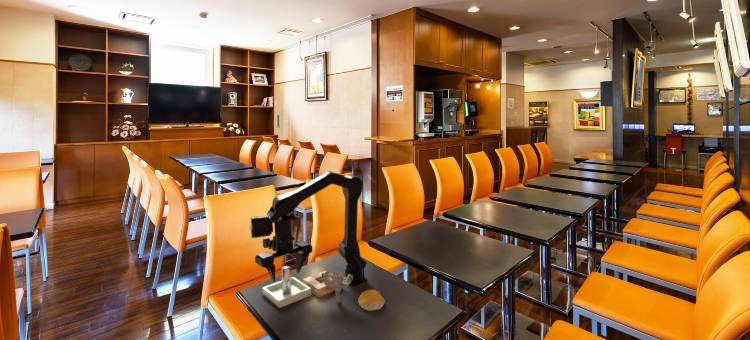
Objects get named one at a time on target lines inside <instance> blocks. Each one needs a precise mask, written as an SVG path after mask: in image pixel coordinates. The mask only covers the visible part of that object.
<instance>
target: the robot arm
mask: <svg viewBox="0 0 750 340" xmlns="http://www.w3.org/2000/svg"><path fill="white" fill-rule="evenodd" d="M363 183H364V182H363V180H362V179H361V178H360V177H359V176H356V175H354V174H351V173H350V174H346V175H345V174H341V173H337V172H333V171H331V170H326V171H325V172H324V173H322V174H321V175H320V176H318V177H316V178H314V179H312V180H311V181H309V182H307V183H305V184H304V185H302V186H300V187H299V188H297V189H295V190H292V191H287V192H285V193H282V194H279V195H277V196H275V197H274V198H273V199H272V203H271V204H272V205H271V207H270V208H269V210H268V211H267V212H266V215H261V216H250V225H249V227H250V236H251V239H256V238H257V239H258V238H262V237H267V238H263V239H262V246H263V247H262V248H264V249H268V250H272V251H273V252H274V253H269V252H268V251H263V252H261V253H257V254H256V255H255V257H254V263H255V264H256V265H258V266H260V267H261V268H265V269H266V271H267V272H268V275H269V277H270V279H271V281H272V282H273V283H276V282H275V281H276V265H275V264H274V263H275V260H276V259H280V258H284V257H286V256H289V255H293V254H294V256H295V269H296V270H295V271H296V274H300V273H301V270H302V267H303V265H304V263H305V261H306V259H307V258H308V257H309V256H310V253H313V245H312V244H311V243H308V242H307V241H305V240H302V241H299V242H295V243H294V240H296V239H295V236H294V235H293V222H292V221H297V220H298V219H299V217H298V216H297V215H296V214H294V213H293V211H294V210H295V209H297V208H298V206H300V204H301V203H302V202H304V201H306V200H307V199H309V198H311V196H314V195H315V194H317V193H319V192H320V191H322V190H324V189H326V188H327V187H329V186H331V185H334V186H338V187H341V189H342V194H343V197H344V200H345V201H344V231H343V232H344V234H343V239H342V241H340V240H339V241H338V251H337V252H338V253H339V255H340V257H341V258H342V259H343V260H344V262H345V263H346V264H347V265H345V274H344V275H345V276H344V277H348V274H351V275H353V280H351V283H350V285H352V286H357V285H359V284H361V283H363V282H365V281H367V280H368V278H367V277H366V276H365V268H366V266H367V263H368V262H367V261H366V260H365V259H364V258H363V257H362V256H361V252H360V246H359V241H358V239H357V237H358V234H357V233H358V210H359V209H358V208H359V207H358V206H359V199H360V197H361V195H362V192H363V185H364V184H363ZM273 223H274V224H273ZM272 233H274V235H273V234H272ZM271 235H273V237H272V239H271V238H269V237H270V236H271Z"/></svg>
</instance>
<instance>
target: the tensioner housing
mask: <svg viewBox="0 0 750 340" xmlns="http://www.w3.org/2000/svg"><path fill="white" fill-rule="evenodd" d="M326 271H327V270H324V271H321V272H317V273H316V274H313V275H311V276H308V277H304V278H302V283H304V284H305V285H307V286H308V287H310V288H311V294H313V295H314V296H316V297H318V298H320V297H322V296H325V295H328V294H329V293H333V292H335V290H334V286H327V285H325V284H324V279H323V278H322V273H325V272H326ZM330 278H331V277H330ZM331 279H332V278H331ZM341 288H342V289H343V287H341Z"/></svg>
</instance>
